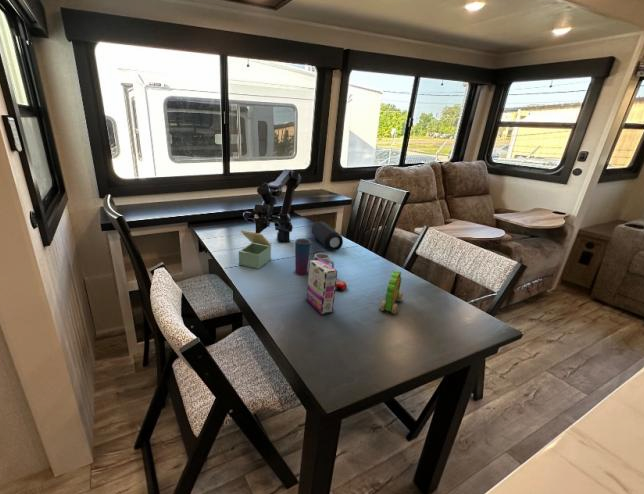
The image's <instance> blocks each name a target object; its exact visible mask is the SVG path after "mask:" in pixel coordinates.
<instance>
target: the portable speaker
mask: <svg viewBox="0 0 644 494" xmlns="http://www.w3.org/2000/svg"><path fill="white" fill-rule="evenodd" d="M311 234H312V235H313V237H314V238H315V239H317V240H318V241H319V242H320V243H321V244H322V245H323V246H324V247H325V249H327V250H329V251H338V250H340V249H341V248H342V247H343V244H344V240H343V239H344V238H343V236H342V235H341V234H340V233H339V232H338V231H336V230H335V229H334V228H332V227H331V226H330V225H329V224H327V223H326V222H325V221H316V222H315V223H313V224H312V226H311Z"/></svg>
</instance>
